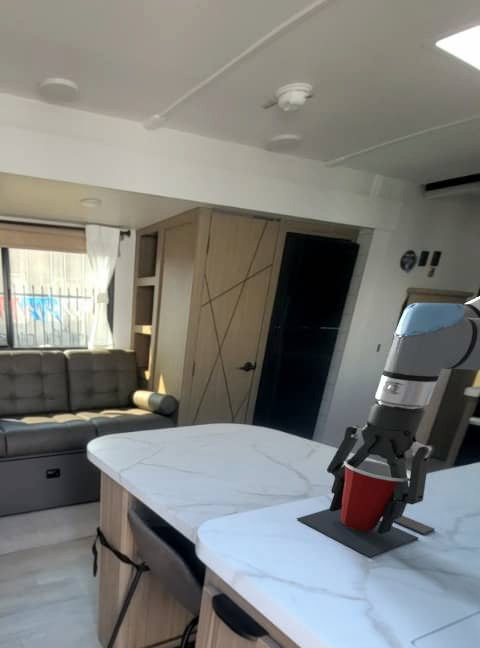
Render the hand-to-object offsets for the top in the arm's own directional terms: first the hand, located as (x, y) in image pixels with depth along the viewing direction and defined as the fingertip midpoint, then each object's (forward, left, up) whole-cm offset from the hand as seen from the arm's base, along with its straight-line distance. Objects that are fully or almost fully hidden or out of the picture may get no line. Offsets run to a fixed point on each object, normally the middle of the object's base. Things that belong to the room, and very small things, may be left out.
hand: (358, 520), depth 78 cm
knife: (-8, -9, -2) cm, 12 cm away
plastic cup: (0, 0, -1) cm, 1 cm away
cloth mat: (0, 0, -2) cm, 2 cm away
